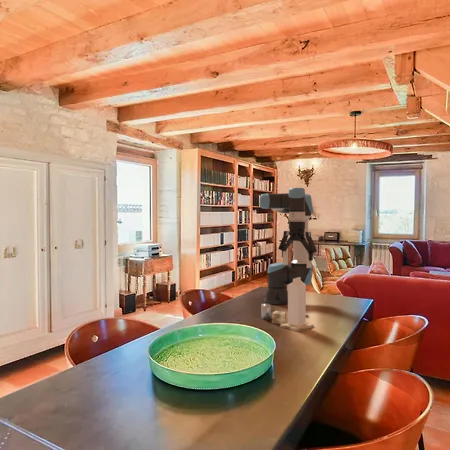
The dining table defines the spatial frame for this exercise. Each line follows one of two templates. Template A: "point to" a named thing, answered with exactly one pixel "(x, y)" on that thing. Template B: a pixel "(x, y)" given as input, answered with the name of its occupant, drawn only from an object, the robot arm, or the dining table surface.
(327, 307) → the dining table surface
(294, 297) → the milk
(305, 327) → the plate
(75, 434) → the dining table surface
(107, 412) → the dining table surface
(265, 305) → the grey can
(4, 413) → the dining table surface
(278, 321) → the beech cube
